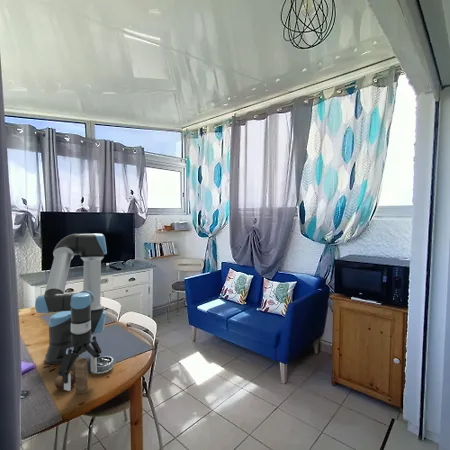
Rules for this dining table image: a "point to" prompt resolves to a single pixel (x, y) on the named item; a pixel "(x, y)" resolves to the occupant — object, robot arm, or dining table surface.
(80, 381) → the brown wooden block
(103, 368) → the tin
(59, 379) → the brown oval lump
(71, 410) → the dining table surface
